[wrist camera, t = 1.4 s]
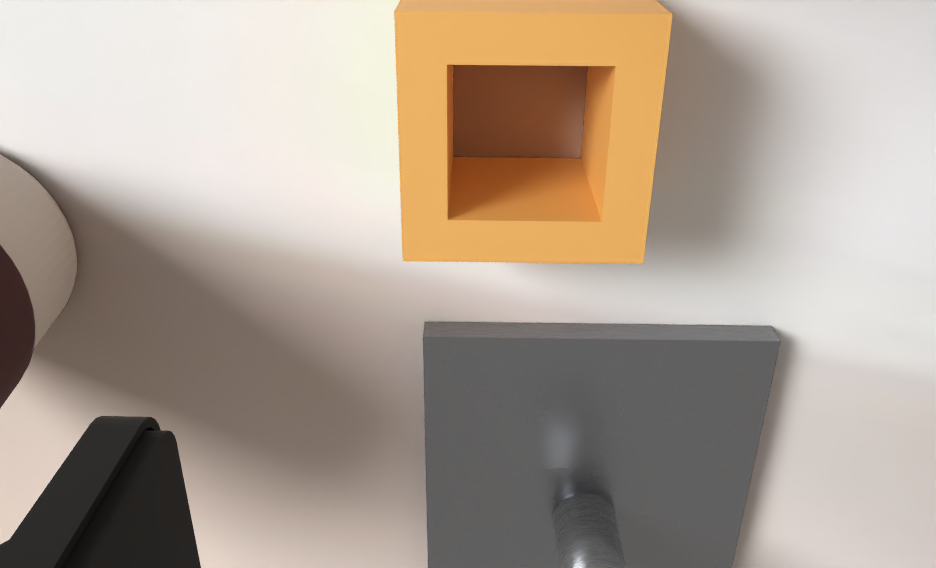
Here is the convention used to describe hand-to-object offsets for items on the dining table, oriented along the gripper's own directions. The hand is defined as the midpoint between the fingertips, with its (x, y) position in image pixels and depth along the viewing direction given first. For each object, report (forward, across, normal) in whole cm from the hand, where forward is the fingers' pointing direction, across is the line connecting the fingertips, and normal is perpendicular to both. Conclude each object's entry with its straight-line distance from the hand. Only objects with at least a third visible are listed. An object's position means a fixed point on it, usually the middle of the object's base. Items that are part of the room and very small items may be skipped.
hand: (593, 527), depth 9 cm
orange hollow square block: (+18, 0, 0) cm, 18 cm away
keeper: (+18, -3, +16) cm, 24 cm away
